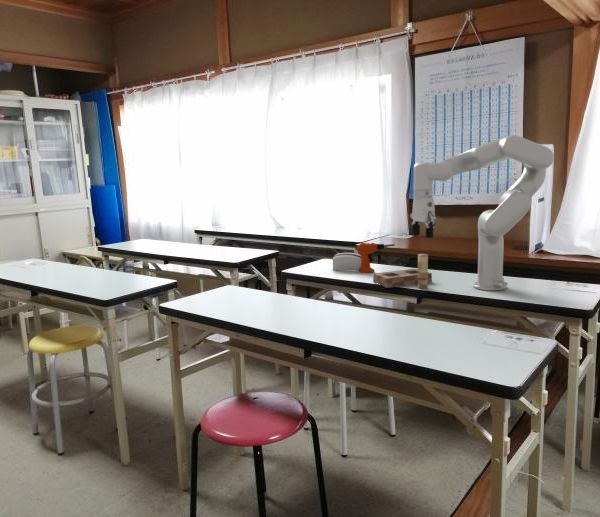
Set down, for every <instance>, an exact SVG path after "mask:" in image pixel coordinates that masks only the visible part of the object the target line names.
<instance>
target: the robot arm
mask: <svg viewBox="0 0 600 517" xmlns="http://www.w3.org/2000/svg"><path fill="white" fill-rule="evenodd" d="M508 159H513V160H514V161H517V162H519V163H522V164H523V171H522V174H521V175H520V177H519V178H518V179H517V180H516V181H515V182H514V183H513V184H512V185H511V186H510V187H509V188H508V189H507V190H506V191H505V192H504V193H502V195H501V197H499V202H498V203H499V204H498V206H497V207H496V208H495V209H488V210H484V211H483V212H482V213H481V214H480V215H479V217H478V221H477V232H478V233H477V234H478V252H477V253H478V254H477V259H478V260H477V282H473V287H474V288H475V289H477V290H481V291H489V292H490V291H502V290H505V289H507V286H508V284H509V283H508V282H506V281H505V278H504V277H503V273H504V241H505V240H504V235H506V234H507V233H509V231H510V230H512V228H514V226H515V225H517V224H518V223H519V222H520V221H521V220H522V219H523V218H524V217H525V216H526V214H527V213H528V212H529V210H530V209H531V207H532V197H534V196H535V195H536V193H537V192H538V191H539V190H540V188H541V187H542V186H543V184H544V182H545V180H546V174H547V169H548V168H550V167H551V166H552V164H553V163H554V161H555V154H554V152H553V151H552V149H550V148H549V147H547V146H546V145H543V144H540V143H538V142H535V141H532V140H529V139H527V138H524V137H522V136H519V135H516V134H515V135H514V134H512V135H505V136H504V137H500V138H498V139H496V140H495V139H494V140H493V141H490V142H487V143H485V144H482V145H479V146H476V147H474V148H471V149H469V150H466V151H465V152H462V153H459V154H456V155H455V156H452V157H449V158H446V159H444V160H443V159H442V160H441V161H438V162H434V163H430V162H419V163H418V162H417V163H415V164H414V165H413V201H412V210H411V211H412V212H411V213H410V214H409V216H410V221H411V226H412V228H411V230H412V235H413V236H419V235H420V234H421V233H420V232H421V231H420V230H421V229H420V227H421V225H420V223H423V224H425V226H426V227H425V238H426V239H429V238H430V239H431V238H434V228H435V225H436V221H437V217H436V212H435V210H436V209H435V200H434V196H433V195H434V194H433V191H434V190H433V189H434V188H433V186H434V184H433V183H434V182H433V181H438V182H446V181H448V180H449V181H450V179H452V178H453V177H454V176H457V175H460V174H462V173H463V174H464V173H466V172H467V173H468V172H470V171H471V172H472V171H477V170H481V169H483V168H486V167H489V166H492V165H495V164H497V163H500V162H504V161H505V160H508Z"/></svg>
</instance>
